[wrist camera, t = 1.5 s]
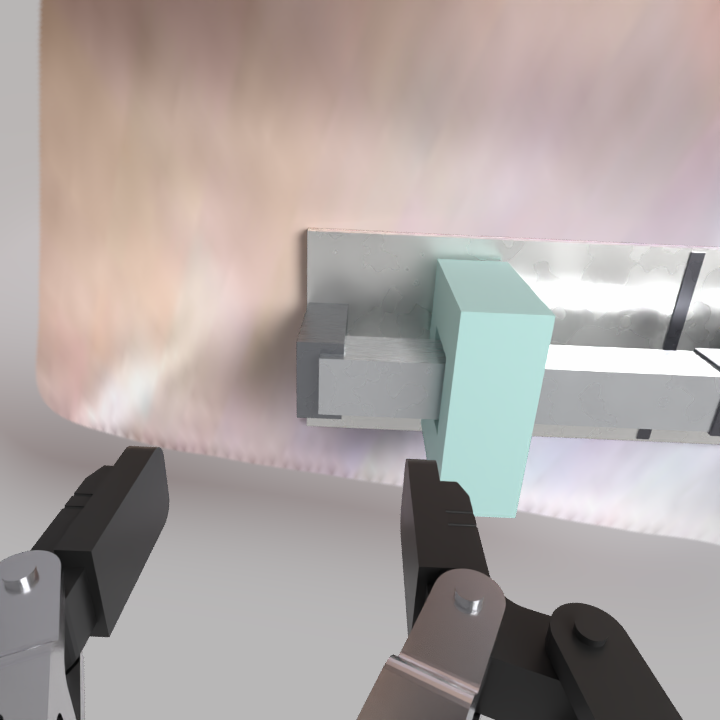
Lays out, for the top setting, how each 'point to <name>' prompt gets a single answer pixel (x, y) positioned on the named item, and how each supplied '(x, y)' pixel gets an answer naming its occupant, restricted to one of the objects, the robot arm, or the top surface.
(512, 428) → the collar
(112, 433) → the top surface
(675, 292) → the grey piece
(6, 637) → the robot arm
